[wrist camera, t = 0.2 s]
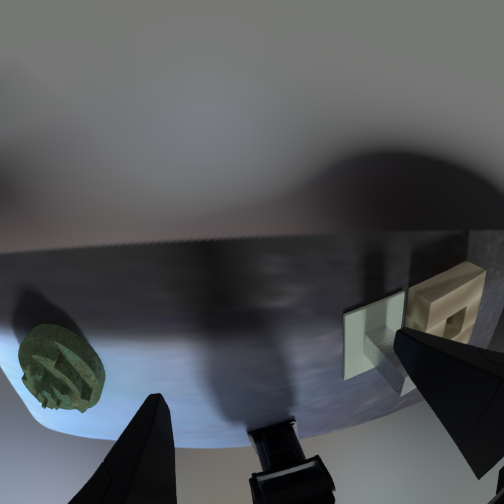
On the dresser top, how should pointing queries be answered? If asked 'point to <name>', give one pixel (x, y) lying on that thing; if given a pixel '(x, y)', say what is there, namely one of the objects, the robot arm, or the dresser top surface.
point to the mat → (368, 330)
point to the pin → (387, 359)
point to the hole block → (447, 303)
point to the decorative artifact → (61, 368)
